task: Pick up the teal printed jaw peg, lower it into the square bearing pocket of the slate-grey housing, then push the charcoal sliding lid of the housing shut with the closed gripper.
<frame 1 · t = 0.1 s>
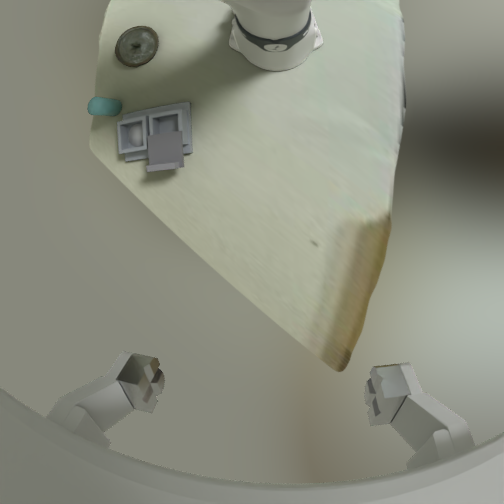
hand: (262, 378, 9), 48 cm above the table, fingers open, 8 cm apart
jaw peg: (114, 107, 50), on the table
slide lid: (162, 151, 47), point 6 cm above the table, slide at 4.5 cm
lid: (141, 48, 44), on the table
housing: (156, 132, 51), on the table
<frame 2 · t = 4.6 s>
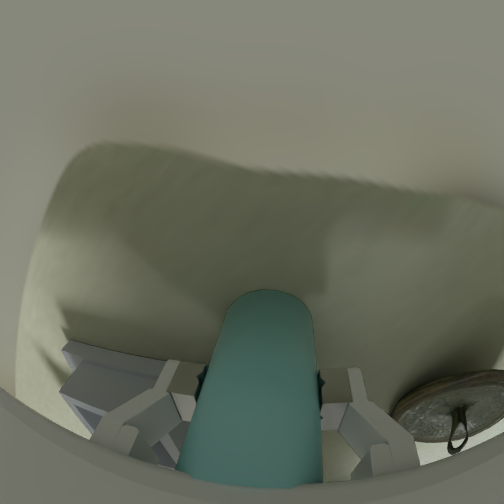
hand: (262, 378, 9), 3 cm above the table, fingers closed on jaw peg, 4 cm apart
jaw peg: (268, 327, 12), on the table, touching gripper
lid: (447, 391, 13), on the table
housing: (165, 424, 17), on the table
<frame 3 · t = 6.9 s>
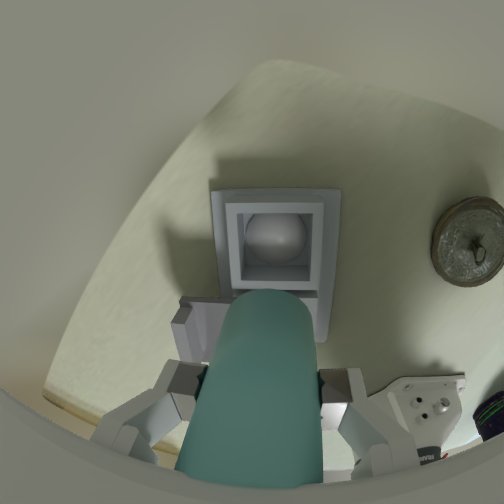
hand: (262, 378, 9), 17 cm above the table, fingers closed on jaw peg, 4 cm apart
storage jar: (488, 404, 34), on the table
jaw peg: (268, 326, 12), point 14 cm above the table, touching gripper
slide lid: (221, 342, 23), point 6 cm above the table, slide at 4.5 cm
lid: (463, 238, 23), on the table
housing: (276, 271, 26), on the table
when the fingers open (6 cm above the table, at t = 9.3 s): jaw peg stays where it is, resting on housing.
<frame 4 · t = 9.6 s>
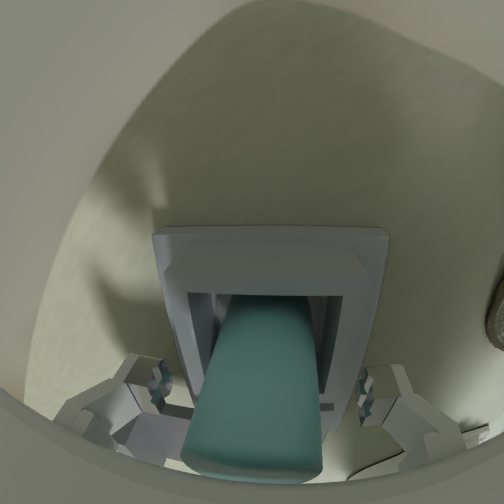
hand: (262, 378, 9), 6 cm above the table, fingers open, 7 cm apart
jaw peg: (269, 313, 13), point 1 cm above the table, touching housing
slide lid: (186, 455, 12), point 6 cm above the table, slide at 4.5 cm
housing: (270, 352, 16), on the table
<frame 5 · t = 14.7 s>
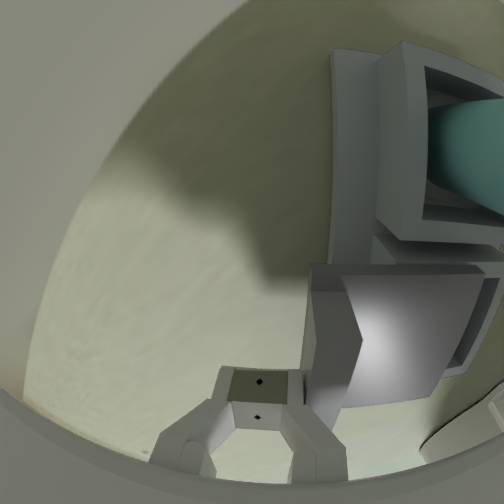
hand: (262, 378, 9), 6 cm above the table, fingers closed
jaw peg: (448, 147, 9), point 1 cm above the table, touching housing
slide lid: (395, 368, 8), point 6 cm above the table, slide at 3.3 cm, touching gripper
housing: (427, 221, 12), on the table
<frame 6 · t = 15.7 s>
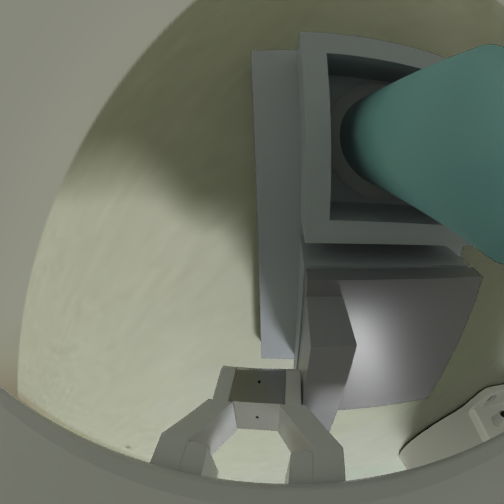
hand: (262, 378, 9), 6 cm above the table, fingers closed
jaw peg: (384, 140, 10), point 1 cm above the table, touching housing
slide lid: (392, 371, 9), point 6 cm above the table, slide at 0.0 cm, touching gripper
housing: (369, 221, 13), on the table
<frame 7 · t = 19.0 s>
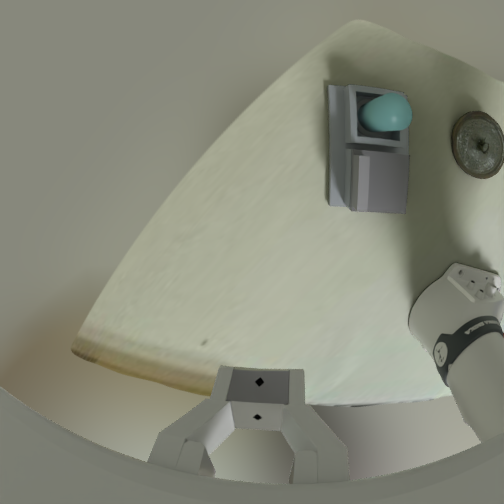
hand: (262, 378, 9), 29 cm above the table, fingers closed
jaw peg: (372, 117, 28), point 1 cm above the table, touching housing
slide lid: (384, 183, 27), point 6 cm above the table, slide at 0.0 cm
lid: (472, 144, 28), on the table
housing: (369, 147, 31), on the table
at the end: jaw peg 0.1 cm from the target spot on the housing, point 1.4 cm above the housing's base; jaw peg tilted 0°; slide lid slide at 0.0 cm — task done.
